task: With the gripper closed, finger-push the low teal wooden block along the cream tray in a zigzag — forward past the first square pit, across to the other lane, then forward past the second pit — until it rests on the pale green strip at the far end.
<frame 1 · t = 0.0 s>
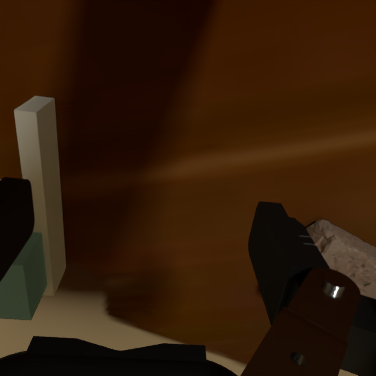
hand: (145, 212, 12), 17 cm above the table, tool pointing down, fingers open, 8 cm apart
block: (9, 257, 30), point 4 cm above the table, touching tray
brick: (346, 267, 37), on the table
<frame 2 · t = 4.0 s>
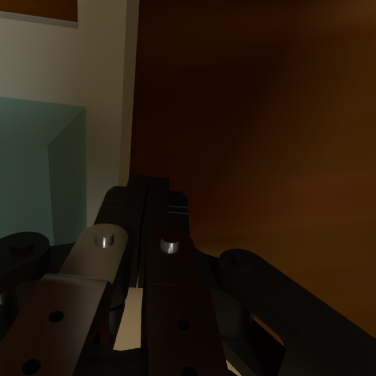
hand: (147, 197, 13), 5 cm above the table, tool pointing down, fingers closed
block: (7, 174, 13), point 4 cm above the table, touching gripper
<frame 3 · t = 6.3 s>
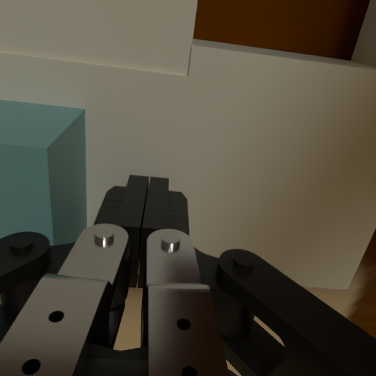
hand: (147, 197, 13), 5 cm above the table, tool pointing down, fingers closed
block: (7, 176, 13), point 4 cm above the table, touching gripper, tray
tray: (36, 42, 14), on the table
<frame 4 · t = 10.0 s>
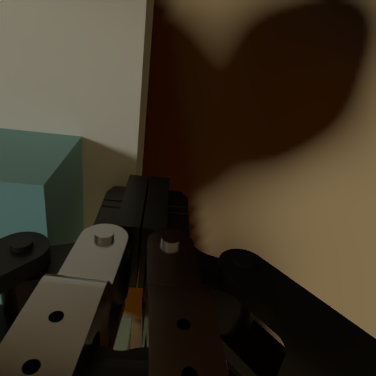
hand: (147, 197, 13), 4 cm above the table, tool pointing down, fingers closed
block: (6, 200, 13), point 4 cm above the table, touching tray
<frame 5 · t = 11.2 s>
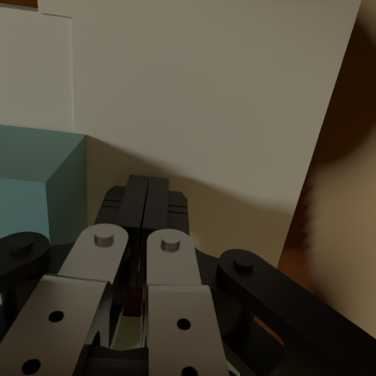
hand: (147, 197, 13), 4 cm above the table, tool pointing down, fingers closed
block: (11, 197, 13), point 4 cm above the table, touching gripper, tray
tray: (96, 159, 17), on the table
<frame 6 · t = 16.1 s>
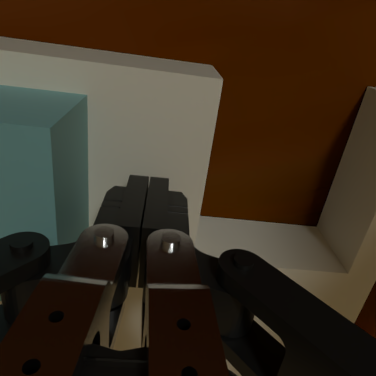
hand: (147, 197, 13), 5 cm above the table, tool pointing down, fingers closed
block: (9, 164, 13), point 4 cm above the table, touching gripper, tray
tray: (70, 219, 19), on the table
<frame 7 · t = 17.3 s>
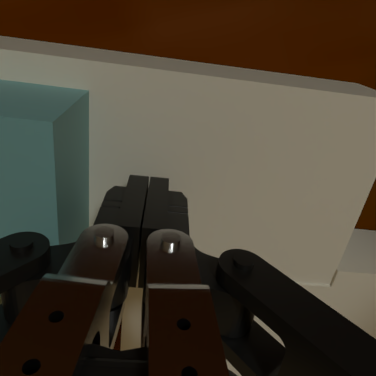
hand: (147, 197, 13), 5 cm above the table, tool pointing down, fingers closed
block: (9, 159, 13), point 4 cm above the table, touching gripper, tray
tray: (195, 229, 19), on the table
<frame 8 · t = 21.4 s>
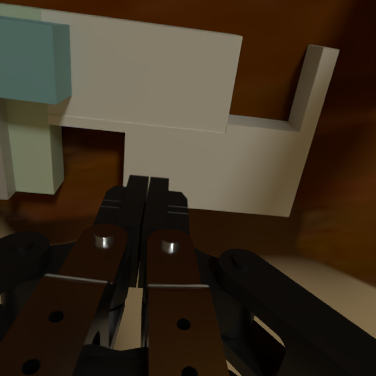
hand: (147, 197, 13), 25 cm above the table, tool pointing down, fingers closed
block: (37, 57, 30), point 4 cm above the table, touching tray
tray: (162, 116, 37), on the table
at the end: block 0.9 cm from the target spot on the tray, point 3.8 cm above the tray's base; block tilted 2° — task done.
